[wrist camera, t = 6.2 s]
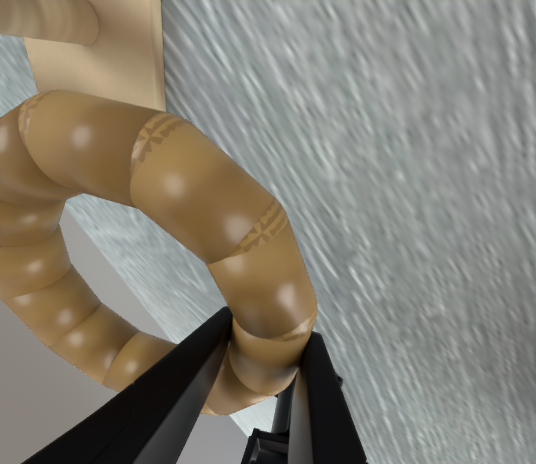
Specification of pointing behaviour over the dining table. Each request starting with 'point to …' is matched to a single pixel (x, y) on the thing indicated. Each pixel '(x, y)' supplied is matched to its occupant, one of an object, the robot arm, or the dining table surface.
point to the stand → (92, 46)
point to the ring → (168, 218)
